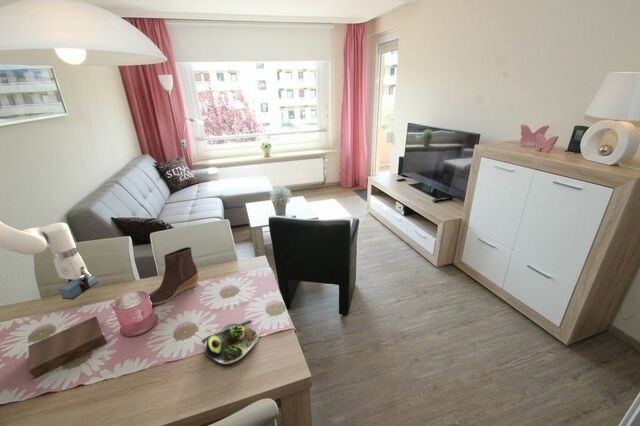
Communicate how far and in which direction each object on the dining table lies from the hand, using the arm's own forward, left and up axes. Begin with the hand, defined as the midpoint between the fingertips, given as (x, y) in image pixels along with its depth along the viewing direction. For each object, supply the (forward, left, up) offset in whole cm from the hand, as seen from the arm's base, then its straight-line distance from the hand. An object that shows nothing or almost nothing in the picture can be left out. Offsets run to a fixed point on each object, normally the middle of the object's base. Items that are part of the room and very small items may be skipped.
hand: (80, 289), depth 125 cm
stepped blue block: (0, 0, -1) cm, 1 cm away
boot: (+30, -22, -8) cm, 38 cm away
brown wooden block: (-8, -26, -8) cm, 28 cm away
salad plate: (+33, -68, -8) cm, 76 cm away
